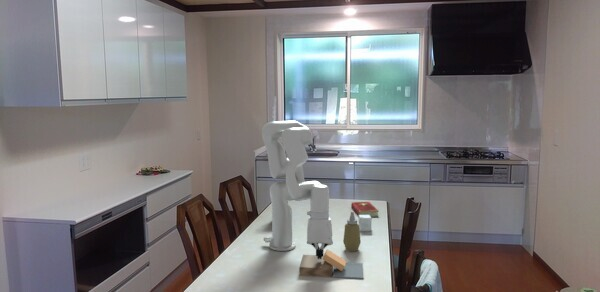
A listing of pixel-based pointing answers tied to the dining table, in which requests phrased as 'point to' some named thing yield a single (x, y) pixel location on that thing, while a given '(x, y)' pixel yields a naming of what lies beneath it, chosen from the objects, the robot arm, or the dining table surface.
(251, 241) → the dining table surface
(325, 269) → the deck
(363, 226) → the skincare box
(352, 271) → the mat
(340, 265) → the tile
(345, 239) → the squeeze bottle
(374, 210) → the hardcover book
